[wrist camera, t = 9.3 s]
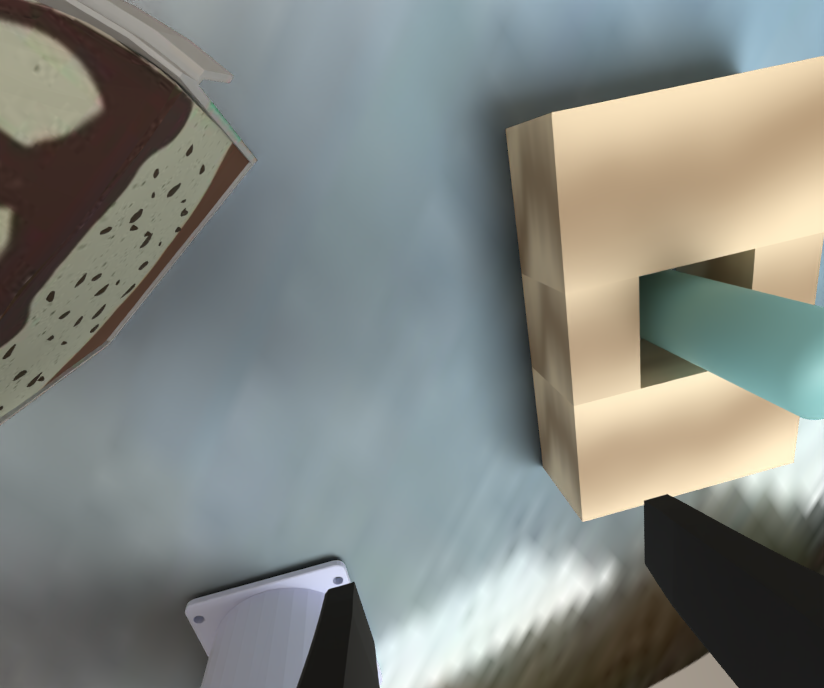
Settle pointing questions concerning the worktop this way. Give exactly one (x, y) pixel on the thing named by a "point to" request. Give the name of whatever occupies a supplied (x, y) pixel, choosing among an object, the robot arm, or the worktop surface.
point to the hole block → (657, 251)
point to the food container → (97, 177)
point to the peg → (739, 336)
